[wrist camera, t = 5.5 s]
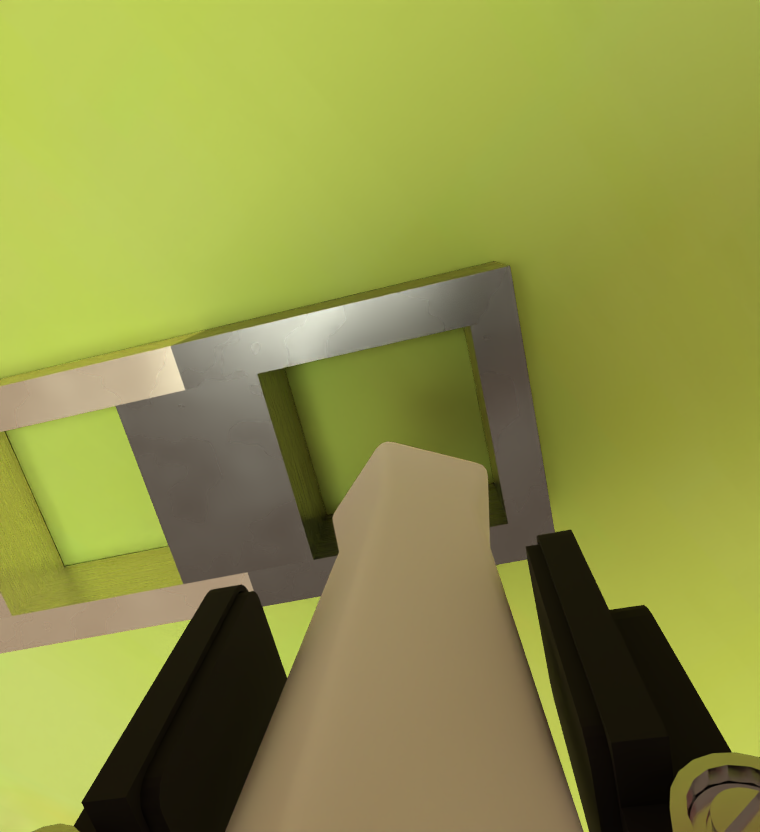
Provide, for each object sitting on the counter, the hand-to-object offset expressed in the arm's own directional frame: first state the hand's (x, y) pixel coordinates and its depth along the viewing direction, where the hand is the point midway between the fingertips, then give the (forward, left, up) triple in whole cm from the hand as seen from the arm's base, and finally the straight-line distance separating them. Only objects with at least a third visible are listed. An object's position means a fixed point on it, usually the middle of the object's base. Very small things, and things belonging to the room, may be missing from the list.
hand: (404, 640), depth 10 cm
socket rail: (+7, 0, -14) cm, 15 cm away
